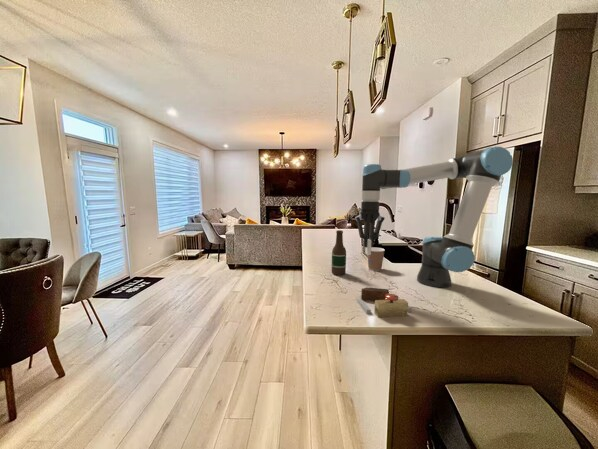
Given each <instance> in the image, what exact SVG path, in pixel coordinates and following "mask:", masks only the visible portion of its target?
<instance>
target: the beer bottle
mask: <svg viewBox="0 0 598 449" xmlns="http://www.w3.org/2000/svg"><path fill="white" fill-rule="evenodd" d="M335 233H336V236H335V244H334V246H333V247H332V251H331V273H332V275H334V276H344V275H345V274H346V271H347V250H346V247H345V246H344V238H343V237H344V236H343V233H344V231H343V230H339V229H337V230H336V231H335Z"/></svg>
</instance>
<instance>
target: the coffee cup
mask: <svg viewBox="0 0 598 449" xmlns="http://www.w3.org/2000/svg"><path fill="white" fill-rule="evenodd" d="M385 251H386V250H385V249H384V248H382V247H374V246H373V247H371V255H367V264H368V269H369V270H371V271H376V272H377V271H381V270H382V267H383V261H384V255H385Z"/></svg>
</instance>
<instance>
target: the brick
mask: <svg viewBox="0 0 598 449" xmlns="http://www.w3.org/2000/svg"><path fill="white" fill-rule="evenodd" d="M386 294H390V291H389V289H388V288H379V287H377V288H376V287H364V288H361V295H360V299H362V300H363V301H366V300H367V301H369V302H375V300H388V299H386V298H385V295H386Z"/></svg>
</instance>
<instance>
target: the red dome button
mask: <svg viewBox="0 0 598 449" xmlns="http://www.w3.org/2000/svg"><path fill="white" fill-rule="evenodd" d="M385 298H386V299H388V300H375V301H374V314H375V316H376V317H377V318H389V317H391V318H394V317H396V316H397V317H408V316H409V315H408V314H409V312H408V306H409V302H408V300H406V299H405V298H399V296H398V295H397V294H394V293H389V294H386V295H385ZM398 298H399V299H398Z"/></svg>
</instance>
